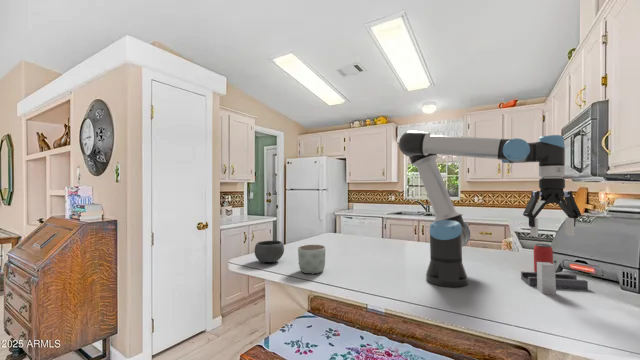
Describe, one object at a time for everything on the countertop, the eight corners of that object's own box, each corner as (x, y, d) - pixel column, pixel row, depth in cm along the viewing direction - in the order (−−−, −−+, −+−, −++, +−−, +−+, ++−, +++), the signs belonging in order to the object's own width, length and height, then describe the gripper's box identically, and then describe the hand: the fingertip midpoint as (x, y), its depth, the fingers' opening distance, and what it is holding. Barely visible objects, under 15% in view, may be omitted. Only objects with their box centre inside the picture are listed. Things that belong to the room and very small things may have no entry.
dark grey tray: (529, 286, 111) (529, 277, 111) (521, 278, 119) (520, 271, 120) (587, 289, 106) (587, 281, 107) (574, 282, 115) (574, 274, 115)
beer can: (556, 275, 123) (556, 246, 123) (538, 275, 124) (538, 246, 124) (548, 271, 129) (547, 243, 129) (531, 270, 131) (530, 243, 131)
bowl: (249, 265, 145) (249, 245, 146) (260, 258, 160) (260, 239, 160) (279, 266, 143) (278, 245, 143) (287, 258, 158) (287, 240, 158)
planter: (320, 276, 126) (320, 251, 126) (293, 274, 130) (293, 249, 130) (329, 268, 138) (328, 245, 138) (304, 266, 142) (304, 243, 142)
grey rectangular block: (542, 293, 104) (541, 264, 104) (537, 289, 107) (536, 261, 108) (555, 294, 102) (555, 265, 103) (550, 290, 106) (549, 262, 106)
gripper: (526, 177, 105) (526, 238, 105) (593, 177, 106) (594, 237, 106) (511, 178, 113) (512, 234, 112) (574, 177, 114) (575, 233, 114)
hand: (552, 235), depth 109 cm, fingers open, 13 cm apart
